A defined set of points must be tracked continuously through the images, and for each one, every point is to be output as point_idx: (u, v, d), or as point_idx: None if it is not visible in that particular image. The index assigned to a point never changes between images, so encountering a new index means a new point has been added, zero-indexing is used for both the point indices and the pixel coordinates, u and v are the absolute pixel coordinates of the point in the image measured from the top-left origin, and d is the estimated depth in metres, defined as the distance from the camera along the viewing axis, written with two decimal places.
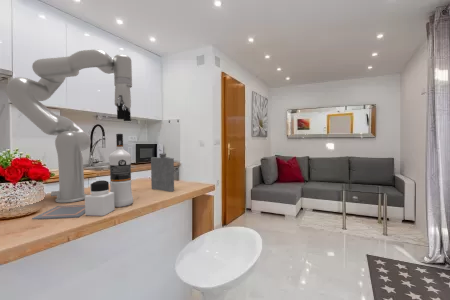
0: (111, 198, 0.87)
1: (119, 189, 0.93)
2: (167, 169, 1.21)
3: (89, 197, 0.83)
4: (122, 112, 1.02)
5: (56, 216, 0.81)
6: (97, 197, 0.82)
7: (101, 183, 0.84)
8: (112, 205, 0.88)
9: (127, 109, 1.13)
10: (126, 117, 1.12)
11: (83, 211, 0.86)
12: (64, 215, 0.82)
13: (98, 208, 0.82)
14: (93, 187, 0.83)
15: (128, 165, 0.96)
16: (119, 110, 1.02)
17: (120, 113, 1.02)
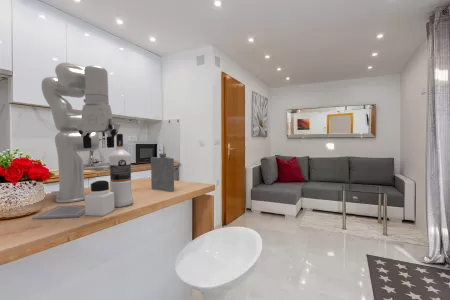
0: (111, 198, 0.87)
1: (119, 189, 0.93)
2: (167, 169, 1.21)
3: (89, 197, 0.83)
4: None
5: (56, 216, 0.81)
6: (97, 197, 0.82)
7: (101, 183, 0.84)
8: (112, 205, 0.88)
9: None
10: (87, 143, 0.85)
11: (83, 211, 0.86)
12: (64, 215, 0.82)
13: (98, 208, 0.82)
14: (93, 187, 0.83)
15: (128, 165, 0.96)
16: (112, 137, 0.83)
17: (112, 141, 0.84)
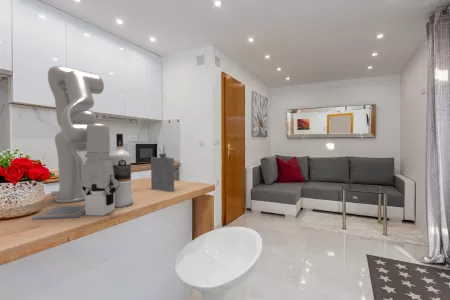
0: None
1: (119, 189, 0.93)
2: (167, 169, 1.21)
3: (89, 197, 0.83)
4: None
5: (56, 216, 0.81)
6: (97, 197, 0.82)
7: None
8: (113, 205, 0.88)
9: None
10: None
11: (83, 211, 0.86)
12: (64, 215, 0.82)
13: (99, 208, 0.82)
14: (93, 187, 0.83)
15: (128, 165, 0.96)
16: (111, 195, 0.85)
17: (112, 198, 0.85)
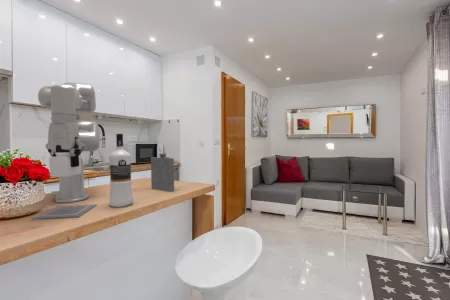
0: None
1: (119, 189, 0.93)
2: (167, 169, 1.21)
3: (53, 158, 0.83)
4: None
5: (56, 216, 0.81)
6: (61, 158, 0.83)
7: None
8: (79, 168, 0.89)
9: None
10: None
11: (83, 211, 0.86)
12: (64, 215, 0.82)
13: (63, 169, 0.83)
14: (57, 148, 0.83)
15: (128, 165, 0.96)
16: (76, 156, 0.85)
17: (77, 160, 0.86)
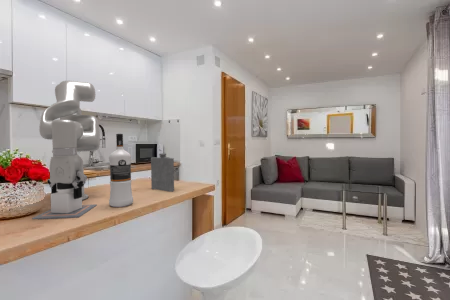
0: None
1: (119, 189, 0.93)
2: (167, 169, 1.21)
3: (54, 195, 0.84)
4: None
5: (56, 216, 0.81)
6: (62, 195, 0.84)
7: None
8: (80, 203, 0.89)
9: None
10: None
11: (83, 211, 0.86)
12: (64, 215, 0.82)
13: (63, 206, 0.84)
14: (58, 185, 0.84)
15: (128, 165, 0.96)
16: (79, 188, 0.86)
17: (80, 191, 0.86)
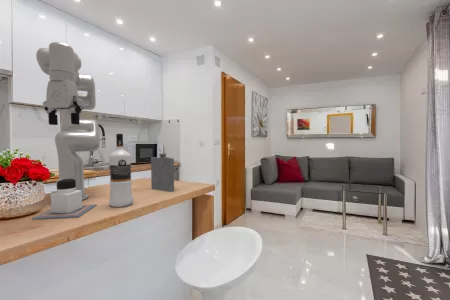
0: (78, 196, 0.88)
1: (119, 189, 0.93)
2: (167, 169, 1.21)
3: (54, 195, 0.84)
4: None
5: (56, 216, 0.81)
6: (62, 195, 0.84)
7: (67, 181, 0.85)
8: (80, 203, 0.89)
9: None
10: (53, 120, 0.87)
11: (83, 211, 0.86)
12: (64, 215, 0.82)
13: (63, 206, 0.84)
14: (58, 185, 0.84)
15: (128, 165, 0.96)
16: (76, 114, 0.85)
17: (77, 117, 0.85)
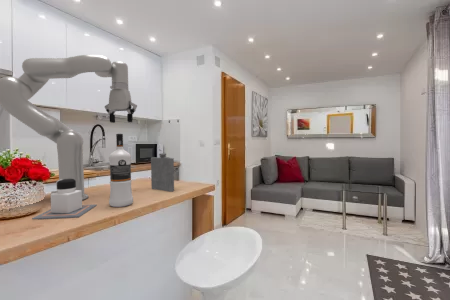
0: (78, 196, 0.88)
1: (119, 189, 0.93)
2: (167, 169, 1.21)
3: (54, 195, 0.84)
4: None
5: (56, 216, 0.81)
6: (62, 195, 0.84)
7: (67, 181, 0.85)
8: (80, 203, 0.89)
9: None
10: (112, 119, 1.16)
11: (83, 211, 0.86)
12: (64, 215, 0.82)
13: (63, 206, 0.84)
14: (58, 185, 0.84)
15: (128, 165, 0.96)
16: (131, 114, 1.14)
17: (131, 117, 1.14)
